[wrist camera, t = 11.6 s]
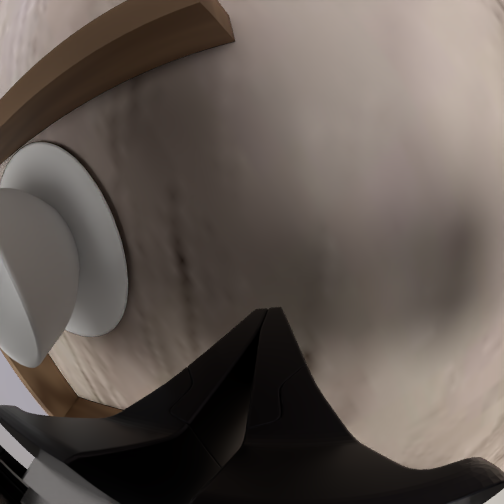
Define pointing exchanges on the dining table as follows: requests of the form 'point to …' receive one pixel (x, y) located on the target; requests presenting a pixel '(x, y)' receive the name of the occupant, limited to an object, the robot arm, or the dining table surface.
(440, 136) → the dining table surface
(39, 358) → the teacup
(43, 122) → the corral
